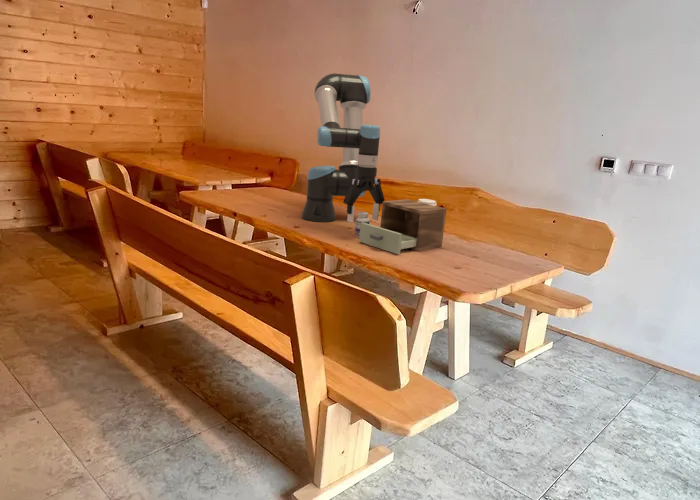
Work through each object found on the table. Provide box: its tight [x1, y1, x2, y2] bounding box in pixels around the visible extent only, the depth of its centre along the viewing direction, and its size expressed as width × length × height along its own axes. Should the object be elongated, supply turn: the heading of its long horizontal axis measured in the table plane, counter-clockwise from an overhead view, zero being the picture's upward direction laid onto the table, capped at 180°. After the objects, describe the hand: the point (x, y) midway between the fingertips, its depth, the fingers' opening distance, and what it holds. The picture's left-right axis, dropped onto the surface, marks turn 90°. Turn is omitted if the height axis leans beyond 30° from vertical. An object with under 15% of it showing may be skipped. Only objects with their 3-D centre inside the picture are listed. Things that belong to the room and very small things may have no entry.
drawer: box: [358, 223, 417, 255], centre depth 194 cm, size 20×16×7 cm
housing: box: [379, 198, 448, 252], centre depth 201 cm, size 20×14×15 cm
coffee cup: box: [417, 198, 438, 206], centre depth 214 cm, size 8×8×15 cm
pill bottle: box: [354, 211, 370, 239], centre depth 206 cm, size 5×5×10 cm
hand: (362, 220), depth 205 cm, fingers open, 13 cm apart
